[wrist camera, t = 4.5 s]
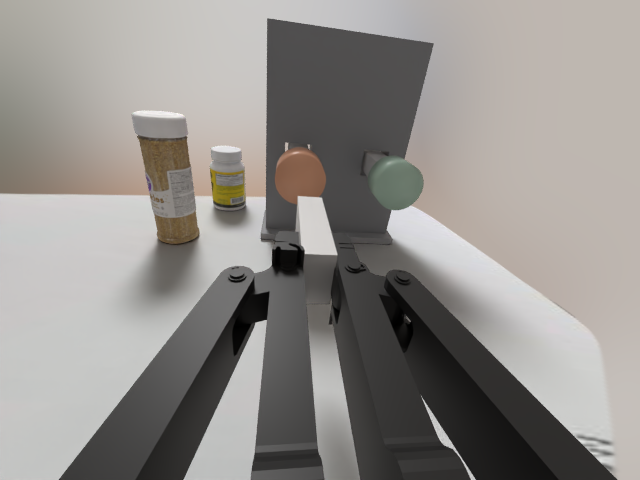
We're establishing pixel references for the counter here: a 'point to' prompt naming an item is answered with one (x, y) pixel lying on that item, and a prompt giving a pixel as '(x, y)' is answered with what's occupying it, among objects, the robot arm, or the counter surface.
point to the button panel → (339, 117)
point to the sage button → (392, 179)
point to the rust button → (299, 173)
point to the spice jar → (168, 173)
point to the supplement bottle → (227, 178)
